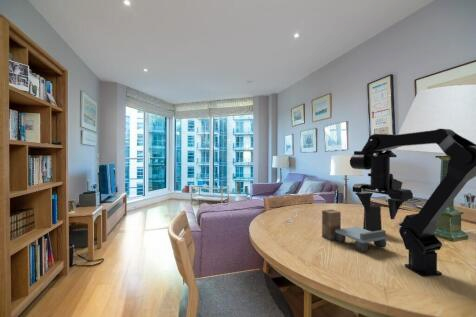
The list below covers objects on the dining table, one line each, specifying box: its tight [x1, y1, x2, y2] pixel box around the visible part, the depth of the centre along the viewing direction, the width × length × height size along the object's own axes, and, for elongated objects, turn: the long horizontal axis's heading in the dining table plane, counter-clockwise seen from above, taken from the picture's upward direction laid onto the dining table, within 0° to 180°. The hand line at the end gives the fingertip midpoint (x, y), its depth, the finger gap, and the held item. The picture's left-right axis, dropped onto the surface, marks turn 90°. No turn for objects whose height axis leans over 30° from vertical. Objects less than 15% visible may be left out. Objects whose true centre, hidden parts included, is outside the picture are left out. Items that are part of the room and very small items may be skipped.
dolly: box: [335, 226, 387, 253], centre depth 93 cm, size 14×11×6 cm
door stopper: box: [362, 204, 383, 232], centre depth 107 cm, size 9×6×12 cm, turn 160°
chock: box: [321, 209, 342, 242], centre depth 101 cm, size 5×5×11 cm
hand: (379, 215), depth 85 cm, fingers open, 9 cm apart
